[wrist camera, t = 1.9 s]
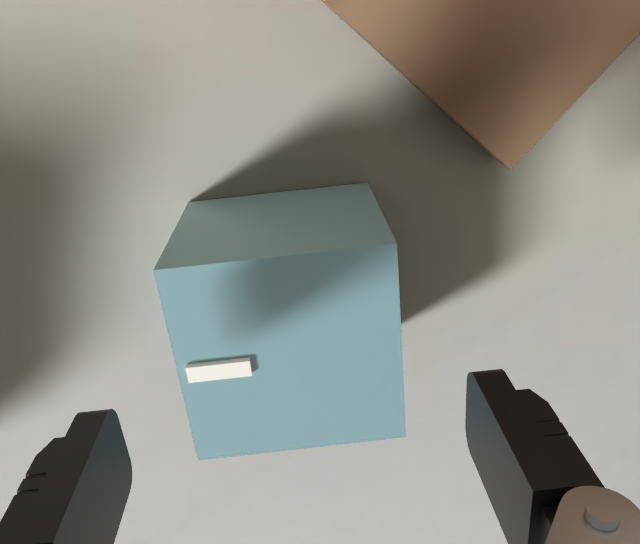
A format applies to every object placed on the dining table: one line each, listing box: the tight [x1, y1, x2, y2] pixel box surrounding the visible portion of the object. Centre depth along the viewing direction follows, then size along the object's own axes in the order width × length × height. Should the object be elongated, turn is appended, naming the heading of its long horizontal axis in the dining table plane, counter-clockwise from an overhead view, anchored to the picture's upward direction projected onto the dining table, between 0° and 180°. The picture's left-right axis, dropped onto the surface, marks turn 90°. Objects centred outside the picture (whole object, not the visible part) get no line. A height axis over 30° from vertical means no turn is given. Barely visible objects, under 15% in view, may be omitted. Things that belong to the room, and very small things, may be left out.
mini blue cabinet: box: [153, 182, 406, 460], centre depth 19 cm, size 6×6×6 cm
